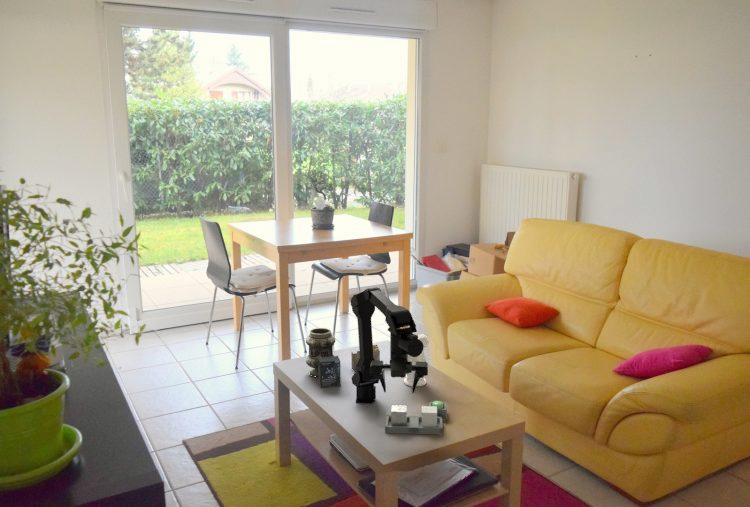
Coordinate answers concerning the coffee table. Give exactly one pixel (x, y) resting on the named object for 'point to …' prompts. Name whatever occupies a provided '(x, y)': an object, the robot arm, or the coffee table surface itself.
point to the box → (329, 371)
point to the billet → (399, 415)
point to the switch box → (441, 411)
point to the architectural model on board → (357, 356)
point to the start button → (438, 404)
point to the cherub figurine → (420, 358)
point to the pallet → (418, 423)
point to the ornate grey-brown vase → (319, 347)
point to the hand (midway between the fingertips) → (399, 392)
